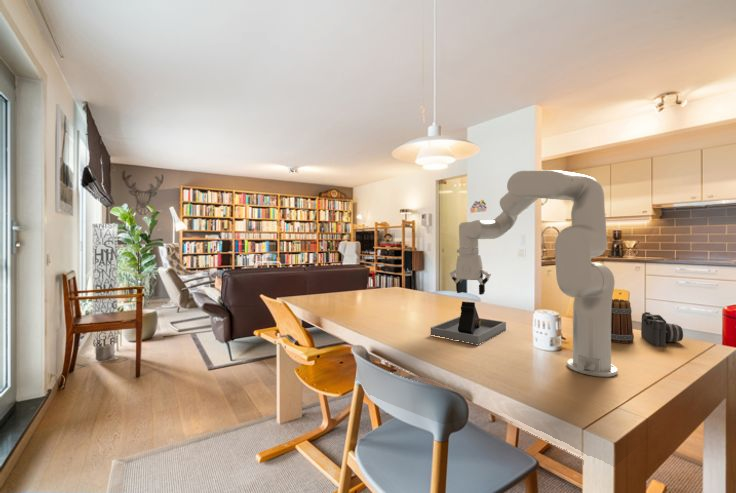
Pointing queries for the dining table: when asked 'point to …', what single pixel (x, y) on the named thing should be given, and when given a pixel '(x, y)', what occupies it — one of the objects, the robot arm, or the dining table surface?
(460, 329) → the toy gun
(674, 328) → the camera
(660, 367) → the dining table surface
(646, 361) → the dining table surface
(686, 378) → the dining table surface
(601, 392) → the dining table surface
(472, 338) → the tray
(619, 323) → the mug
